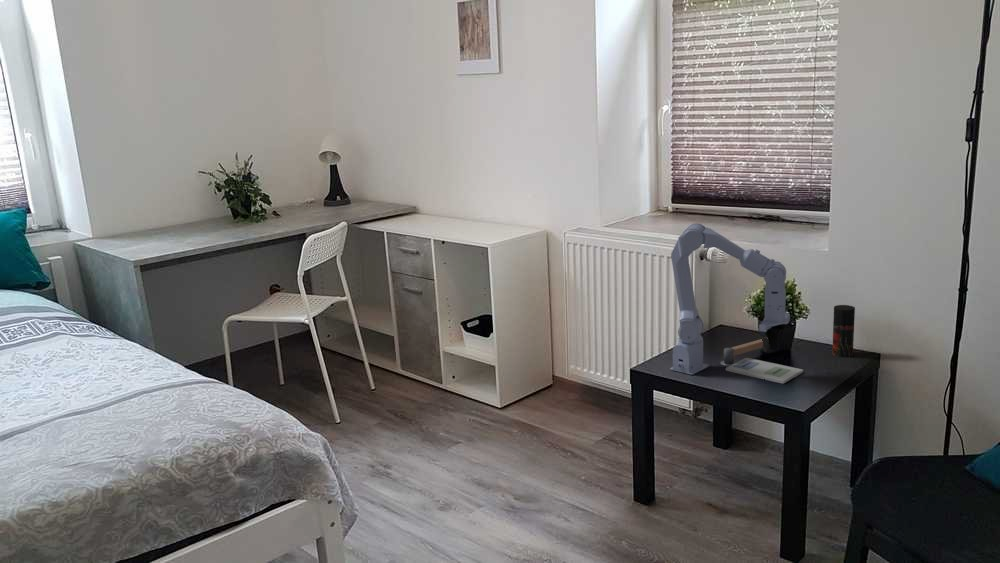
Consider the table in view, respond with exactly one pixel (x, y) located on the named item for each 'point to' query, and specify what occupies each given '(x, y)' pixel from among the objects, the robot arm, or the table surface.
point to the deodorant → (843, 330)
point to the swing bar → (741, 350)
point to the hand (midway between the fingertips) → (774, 349)
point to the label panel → (763, 370)
